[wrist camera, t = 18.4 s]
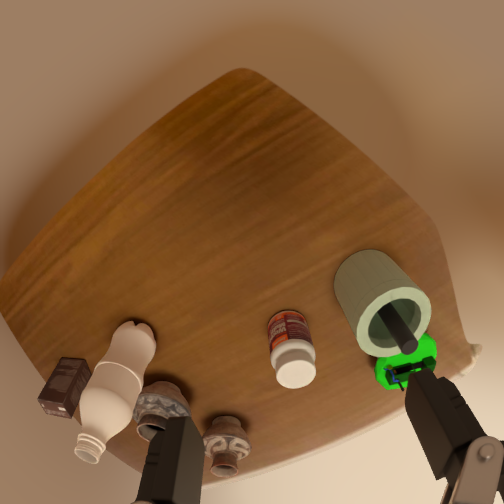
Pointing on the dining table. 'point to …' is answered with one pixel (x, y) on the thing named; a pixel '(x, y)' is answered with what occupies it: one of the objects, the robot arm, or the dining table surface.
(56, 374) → the box
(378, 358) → the green rounded lump
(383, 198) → the dining table surface
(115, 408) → the water bottle
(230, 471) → the pottery
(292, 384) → the pill bottle
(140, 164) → the dining table surface
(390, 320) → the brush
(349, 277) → the jar
